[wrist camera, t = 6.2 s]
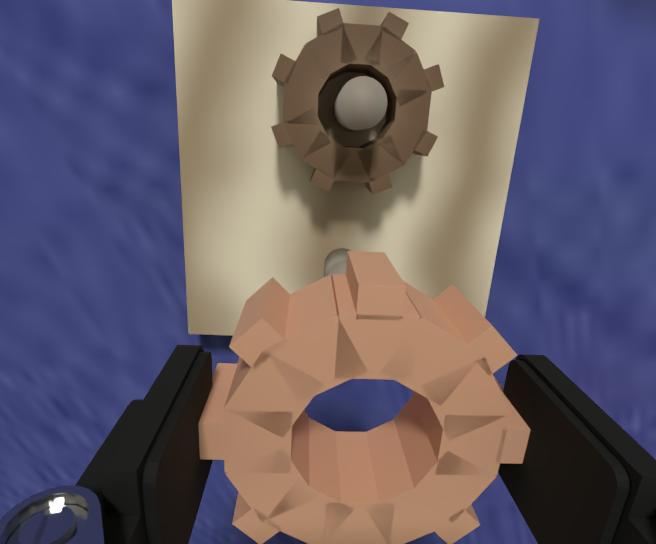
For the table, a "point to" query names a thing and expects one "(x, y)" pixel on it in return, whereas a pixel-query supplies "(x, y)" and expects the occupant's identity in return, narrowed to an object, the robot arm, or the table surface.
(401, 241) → the gear board
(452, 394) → the terracotta gear
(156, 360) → the table surface
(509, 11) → the table surface
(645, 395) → the table surface
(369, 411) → the table surface
